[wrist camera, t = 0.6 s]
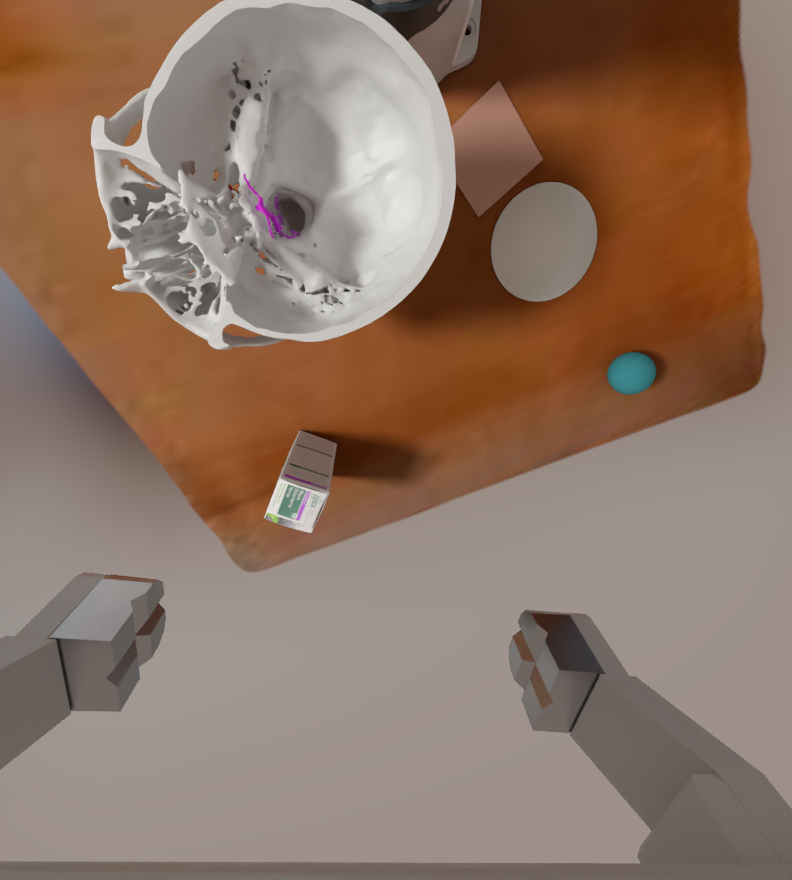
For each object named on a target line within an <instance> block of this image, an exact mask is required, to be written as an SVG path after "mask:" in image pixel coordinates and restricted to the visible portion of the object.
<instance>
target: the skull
mask: <svg viewBox="0 0 792 880" xmlns="http://www.w3.org/2000/svg"><path fill="white" fill-rule="evenodd" d="M141 118H143V124H142V132H141V136H140V138H139V140H138V141H137V142H136V143H135V144H134V145H132V146H128V147H125V146H123V144H124V141H125V139H126V138H127V136H128V134H129V132H130V130H131V129H132V127H133V126H134V125H136V124H137V122H138V121H139V120H140V119H141ZM91 145H92V148H93V150H94V160H95V172H96V180H97V186H98V192H99V197H100V200H101V203H102V206H103V208H104V210H105V213H106V216H107V219H108V225H109V230H110V232H111V240H110V242H109V244H108V249H109V250H111V249H115V248H125V251H126V252H125V255H126V261H127V263H126V264H125V265H122V267H123V273H124V276H125V278H127V279H134V280H131V281H130V282H125V283H123V284H120V285H119V284H116V285H115V286H113V287H112V288H113V289H114V290H117V291H123V292H142V293H146V294H148V295H149V296H151V297H152V298H153V299H154V300H155V301H156V302H157V303H158V304H159V305H160V306H161V307H162V308H163V309H164V310H165V311H166V312H167V313H168V314H169V316H170V317H171V318H172V319H174V320H175V321H176V322H178V323H179V324H181V325H183V326H184V327H185V328H187V329H189V330H190V331H192V332H193V333H195V334H196V335H198V336H200V337H202V338H203V339H206V340H208V344H209V345H210V346H212V347H213V348H215V349H218V350H228V349H231V348H232V347H242V346H265V345H271V344H275V343H278V342H280V341H282V340H284V339H290V340H296V341H303V342H315V341H323V340H328V339H332V338H337V337H340V336H342V335H345V334H347V333H349V332H352V331H354V330H357V329H359V328H361V327H363V326H365V325H367V324H369V323H371V322H373V321H374V320H376V319H378V318H379V317H381V316H383V315H384V314H385V313H387V312H388V311H389V310H391V309H392V308H394V307H395V306H396V305H397V304H399V303H400V302H401V301H402V300H403V299H404V298H405V297H406V296H407V295H408V294H409V293H410V292H411V291H412V290H413V289H414V288H415V287H416V286H417V285H418V284H419V282H420V281H421V280H422V279H423V277H424V276H425V274H426V273H427V271H428V270H429V268H430V266H431V265H432V263H433V261H434V259H435V258H436V256H437V254H438V252H439V250H440V248H441V245H442V243H443V241H444V238H445V236H446V233H447V230H448V227H449V223H450V219H451V215H452V210H453V205H454V199H455V189H456V170H455V148H454V139H453V134H452V130H451V126H450V122H449V117H448V113H447V110H446V107H445V104H444V101H443V98H442V95H441V92H440V90H439V88H438V85H437V83H436V81H435V79H434V77H433V75H432V73H431V71H430V70H429V68H428V67H427V65H426V64H425V62H424V61H423V60H422V58H421V57H420V56H419V55H418V53H417V52H416V51H415V50H414V49H413V48H412V46H411V45H410V44H409V43H408V42H407V40H406V39H405V38H404V37H403V36H402V35H401V34H400V33H399V32H397V31H396V30H395V29H394V28H393V27H392V26H391V25H390V24H389V23H388V22H387V21H386V20H384V19H383V18H382V17H380V16H379V15H377V14H375V13H374V12H372V11H370V10H369V9H367V8H365V7H364V6H362V5H360V4H358V3H355V2H353V1H351V0H225V1H222V2H220V3H218V4H217V5H216V6H215V7H213V8H212V9H210V10H209V11H207V12H206V13H205V14H204V15H202V16H201V17H200V18H199V19H198V20H197V21H196V22H195V23H194V24H193V25H192V26H191V27H190V28H189V29H188V30H187V31H186V32H185V33H184V34H183V35H182V36H181V37H180V39H179V40H178V41H177V43H176V44H175V45H174V46H173V48H172V49H171V51H170V53H169V54H168V56H167V58H166V60H165V61H164V63H163V65H162V67H161V68H160V70H159V72H158V73H157V75H156V77H155V79H154V81H153V83H152V85H151V87H150V88H148V89H145V90H143V91H141V92H139V93H138V94H137V95H135V96H134V97H133V98H132V99H131V100H129V102H128V103H127V104H126V105H125V106H124V107H123V108H122V109H121V110H120V111H119V112H117V113H116V115H114V116H113V117H112V118H110V119H109V120H108V119H106V118H104V117H102V116H96V117H95V118H94V120H93V124H92V130H91ZM125 158H127V159H128V160H130V161H131V162H132V163H133V164H134V165H135V166H136V167H138V168H139V169H140V170H143V171H144V172H146V173H148V174H149V175H150V176H151V177H153V178H154V179H155V180H157V181H158V182H160V183H158V182H154V181H149V180H146V179H145V178H144V177H143V176H141V175H140V174H138V173H136V172H134V171H132V170H129V168H128V166H125V167H126V168H123V167H122V166H121V159H125ZM216 170H217V171H218V172H219V175H220V176H219V178H218V179H217V180H216V179H213V173H214V172H215V171H216ZM228 183H229V184H231V185H232V186H234V185H235V184H239V186H240V187H239V188H238V190H239V192H238V191H236V190H235V189H233V188H232V187H231V186H230V185H229V184H228ZM143 184H150V185H153V186H156V187H160V188H159V189H150V188H149V187H147V186H145V185H143ZM162 184H163V185H162ZM232 195H234V196H235V197H232ZM254 247H255V248H254ZM256 249H258V250H256ZM260 251H261V252H262V253H263V254H264V255H265V256H266V257H268V258H265V259H262V258H261V257H260V254H259V252H260ZM255 268H263V269H264V270H265V274H264V275H261V274H259V273H258V272H257V271H255ZM191 270H195V272H194V273H188V272H190V271H191ZM209 271H210V272H209ZM216 323H217V324H216ZM228 324H236V325H238V326H241V327H243V328H246V329H248V330H250V331H253V332H256V333H258V334H261V335H264V336H258V337H250V338H246V337H241V336H234V335H230V334H227V333H224V332H222V331H223V328H224V327H225V326H226V325H228Z"/></svg>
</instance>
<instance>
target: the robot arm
mask: <svg viewBox="0 0 792 880" xmlns="http://www.w3.org/2000/svg"><path fill="white" fill-rule="evenodd" d="M351 1H353V2H355V3H358V4H360V5H362V6H364V7H365V8H367V9H369V10H370V11H372V12H374V13H375V14H377V15H379V16H380V17H382V18H383V19H384V20H386V21H387V22H388V23H389V24H390V25H391V26H392V27H393V28H394V29H395V30H396V31H397V32H399V33H400V34H401V35H402V36H403V37H404V38H405V39H406V40H407V42H408V43H409V44H410V45H411V46H412V48H413V49H414V50H415V51H416V52H417V53H418V55H419V56H420V57H421V58H422V60H423V61H424V62H425V64H426V65H427V67H428V68H429V70H430V71H431V73H432V75H433V77H434V79H435V81H436V83H437V84H438V83H439V82H440V81H441V80H442V79H443V78H444V77H445V76H446V75H447V74H449V73H451V72H453V71H456V70H458V69H460V68H462V67H464V66H466V65H467V64H469V63H470V62H471V61H472V60H473V59H474V57H475V54H476V51H477V46H478V37H479V26H480V14H481V3H482V0H351ZM466 28H467V29H468V30H469V31H470V35H468V36H467V35H465V31H466ZM163 595H164V588H163V582H162V581H160V580H155V579H147V578H137V577H128V576H119V575H104V574H94V573H82V574H80V575H78V576H76V577H75V578H74V579H73V580H72V581H71V582H69V583H68V584H67V586H66V587H65V588H63V589H62V590H61V591H60V592H59V593H58V594H57V595H56V596H55V597H54V598H53V599H52V600H51V601H50V602H49V603H48V604H47V605H46V606H45V607H44V608H43V609H42V610H41V611H40V612H39V613H38V614H37V615H36V616H35V617H34V618H33V619H32V620H31V621H30V622H29V623H28V624H27V625H26V626H25V627H24V628H23V629H22V630H21V631H20V632H19V633H18V634H17V635H16V636H15V637H11V636H5V637H3V638H1V639H0V769H2V768H3V767H4V766H5V765H7V764H8V763H9V762H10V761H12V760H13V759H14V758H15V757H17V756H18V755H19V754H20V753H22V752H23V751H24V750H25V749H27V748H28V747H29V746H31V745H32V744H33V743H34V742H36V741H37V740H38V739H40V738H41V737H42V736H43V735H45V734H46V733H47V732H48V731H50V730H51V729H52V728H53V727H55V726H56V725H57V724H58V723H60V722H61V721H62V720H64V719H65V718H66V717H67V716H69V715H70V714H71V711H119V712H120V711H121V710H122V708H123V706H124V704H125V703H126V701H127V699H128V698H129V696H130V694H131V693H132V691H133V689H134V687H135V686H136V684H137V682H138V681H139V679H140V675H139V666H141V665H142V664H143V663H145V662H146V661H148V660H150V659H151V658H152V657H153V655H154V653H155V651H156V649H157V648H158V646H159V643H160V640H161V638H162V635H163V632H164V627H165V620H166V616H165V610H164V608H163V607H162V606H161V605H160V604H159V601H160V599H161V598H162V597H163ZM518 624H519V626H520V628H521V630H520V631H519V632H518V633H517V634H515V635H514V636H513V637H512V640H511V643H510V646H509V662H510V667H511V671H512V674H513V677H514V680H515V681H516V682H517V683H518V684H519V685H520V686H521V687H522V688H523V689H524V693H523V697H522V702H523V705H524V707H525V710H526V713H527V715H528V718H529V721H530V724H531V726H532V729H533V730H537V731H550V732H562V733H571V734H570V736H571V737H572V738H573V739H574V740H575V742H576V743H577V744H578V745H579V746H580V748H581V749H582V750H583V751H584V752H585V753H586V755H587V756H588V757H589V758H590V759H591V760H592V762H593V763H594V764H595V765H596V766H597V767H598V768H599V770H600V771H601V772H602V773H603V774H604V776H605V777H606V778H607V779H608V780H609V782H610V783H611V784H612V785H613V786H614V787H615V789H617V791H618V792H619V793H620V794H621V796H622V797H623V798H624V799H625V800H626V801H627V802H628V804H629V805H630V806H631V807H632V808H633V809H634V811H635V812H636V813H637V814H638V815H639V817H641V819H642V820H643V821H644V822H645V823H646V825H647V826H648V827H649V828H650V829H651V833H650V834H649V835H648V837H647V838H646V839H645V841H644V842H643V844H642V845H641V847H640V849H639V852H638V858H639V861H640V863H641V864H595V863H579V864H578V863H573V864H572V863H341V862H340V863H339V862H336V863H334V862H331V863H330V862H323V863H322V862H313V863H312V862H23V861H21V862H20V861H18V862H16V861H14V862H13V861H7V862H6V861H0V880H792V809H791V808H790V807H789V806H788V804H787V803H786V802H785V800H784V799H783V798H782V797H781V795H780V794H779V793H778V792H777V790H776V789H775V788H774V787H773V785H772V784H771V783H770V782H769V781H768V779H767V778H766V777H765V775H764V774H763V773H761V772H760V771H759V770H757V769H756V768H755V767H753V766H752V765H751V764H750V763H748V762H747V761H746V760H744V759H743V758H742V757H740V756H739V755H738V754H736V753H735V752H734V751H732V750H731V749H730V748H729V747H727V746H726V745H725V744H723V743H722V742H720V741H719V740H718V739H717V738H715V737H714V736H713V735H711V734H710V733H709V732H707V731H706V730H705V729H704V728H702V727H701V726H700V725H698V724H697V723H696V722H695V721H693V720H692V719H691V718H689V717H688V716H687V715H685V714H684V713H683V712H681V711H680V710H679V709H677V708H676V707H675V706H673V705H672V704H671V703H670V702H668V701H667V700H666V699H664V698H663V697H662V696H660V695H659V694H658V693H656V692H655V691H654V690H652V689H651V688H650V687H649V686H647V685H646V684H645V683H643V682H642V681H641V680H639V679H638V678H637V677H633V676H629V675H628V673H627V672H626V670H625V669H624V668H623V666H622V664H621V663H620V661H619V660H618V658H617V657H616V655H615V654H614V652H613V651H612V649H611V648H610V646H609V645H608V643H607V642H606V640H605V639H604V637H603V636H602V634H601V633H600V631H599V630H598V628H597V627H596V625H595V624H594V622H593V621H592V619H591V618H590V617H588V616H587V615H586V614H576V613H560V612H546V611H532V610H525V611H524V612H523V613H522V614H521V615H520V618H519V621H518Z"/></svg>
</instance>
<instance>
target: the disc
mask: <svg viewBox="0 0 792 880" xmlns="http://www.w3.org/2000/svg"><path fill="white" fill-rule="evenodd" d="M596 244H597V224H596V218H595V215H594V212H593V210H592V207H591V205H590V204H589V202H588V201H587V199H586V198H585V197H584V196H583V195H582V194H581V193H580V192H579V191H578V190H576V189H575V188H573V187H571V186H569V185H567V184H564V183H559V182H544V183H540V184H536V185H534V186H531V187H529V188H527V189H525V190H524V191H522V192H521V193H519V194H518V195H517V196H515V197H514V198H513V199H512V200H511V201H510V202H509V203H508V205H507V206H506V207H505V208H504V210H503V212H502V213H501V215H500V217H499V219H498V221H497V223H496V225H495V228H494V231H493V236H492V242H491V259H492V264H493V268H494V271H495V273H496V276H497V278H498V279H499V281H500V283H501V284H502V285H503V287H504V288H505V289H506V290H507V291H508V292H510V293H511V294H513V295H514V296H516V297H518V298H520V299H523V300H527V301H533V302H540V301H547V300H551V299H554V298H557V297H559V296H561V295H563V294H565V293H566V292H567V291H569V290H570V289H571V288H573V287H574V286H575V285H576V284H577V283H578V282H579V281H580V279H581V278H582V277H583V275H584V274H585V273H586V271H587V269H588V268H589V266H590V264H591V261H592V259H593V256H594V253H595V249H596Z"/></svg>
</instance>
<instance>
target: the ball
mask: <svg viewBox="0 0 792 880" xmlns="http://www.w3.org/2000/svg"><path fill="white" fill-rule="evenodd" d="M655 376H656V367H655V364H654V362H653V361H652V359H651V358H650V357H648V356H647V355H645V354H643V353H639V352H629V353H625V354H622V355H620V356H619V357H617V358H616V359H615V360H614V361H613V362H612V363H611V365H610V366H609V369H608V373H607V377H608V381H609V384H610V385H611V387H612V388H613V389H615V390H616V391H618V392H620V393H623V394H637V393H640V392H642V391H644V390H646V389H647V388H648V387H649V386H650V385H651V384H652V383H653V381H654V379H655Z"/></svg>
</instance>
